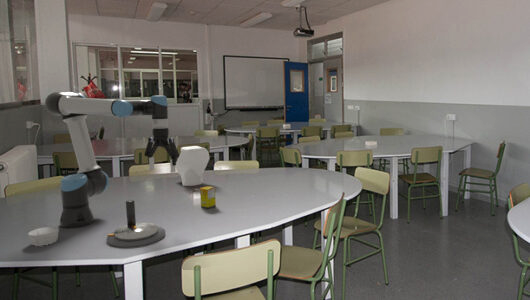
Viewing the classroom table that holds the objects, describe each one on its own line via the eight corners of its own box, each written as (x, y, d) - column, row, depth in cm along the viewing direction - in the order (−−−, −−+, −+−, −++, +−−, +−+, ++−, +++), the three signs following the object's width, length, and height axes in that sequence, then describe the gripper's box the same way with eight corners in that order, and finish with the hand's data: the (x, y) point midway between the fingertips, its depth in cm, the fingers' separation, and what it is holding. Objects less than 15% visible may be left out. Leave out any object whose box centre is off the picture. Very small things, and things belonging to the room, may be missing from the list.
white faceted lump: (183, 187, 263) (181, 150, 259) (175, 180, 287) (173, 146, 284) (213, 184, 271) (211, 148, 268) (203, 177, 296) (201, 144, 292)
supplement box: (208, 204, 219) (207, 185, 217) (216, 206, 215) (215, 187, 214) (200, 207, 214) (199, 187, 213) (207, 209, 210) (207, 189, 209)
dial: (164, 235, 167) (162, 205, 165) (120, 244, 157) (118, 213, 155) (150, 224, 181) (148, 197, 180) (109, 232, 171) (107, 203, 170)
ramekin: (23, 246, 162) (21, 233, 161) (46, 237, 172) (45, 225, 171) (42, 249, 158) (41, 236, 157) (65, 239, 168) (64, 227, 167)
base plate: (96, 247, 158) (95, 242, 158) (122, 227, 182) (122, 223, 182) (153, 247, 156) (152, 243, 156) (172, 228, 180) (172, 224, 180)
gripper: (135, 127, 191) (137, 170, 193) (176, 128, 180) (177, 174, 183) (146, 126, 197) (148, 168, 200) (185, 127, 187) (187, 171, 190)
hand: (162, 171), depth 192 cm, fingers open, 12 cm apart
